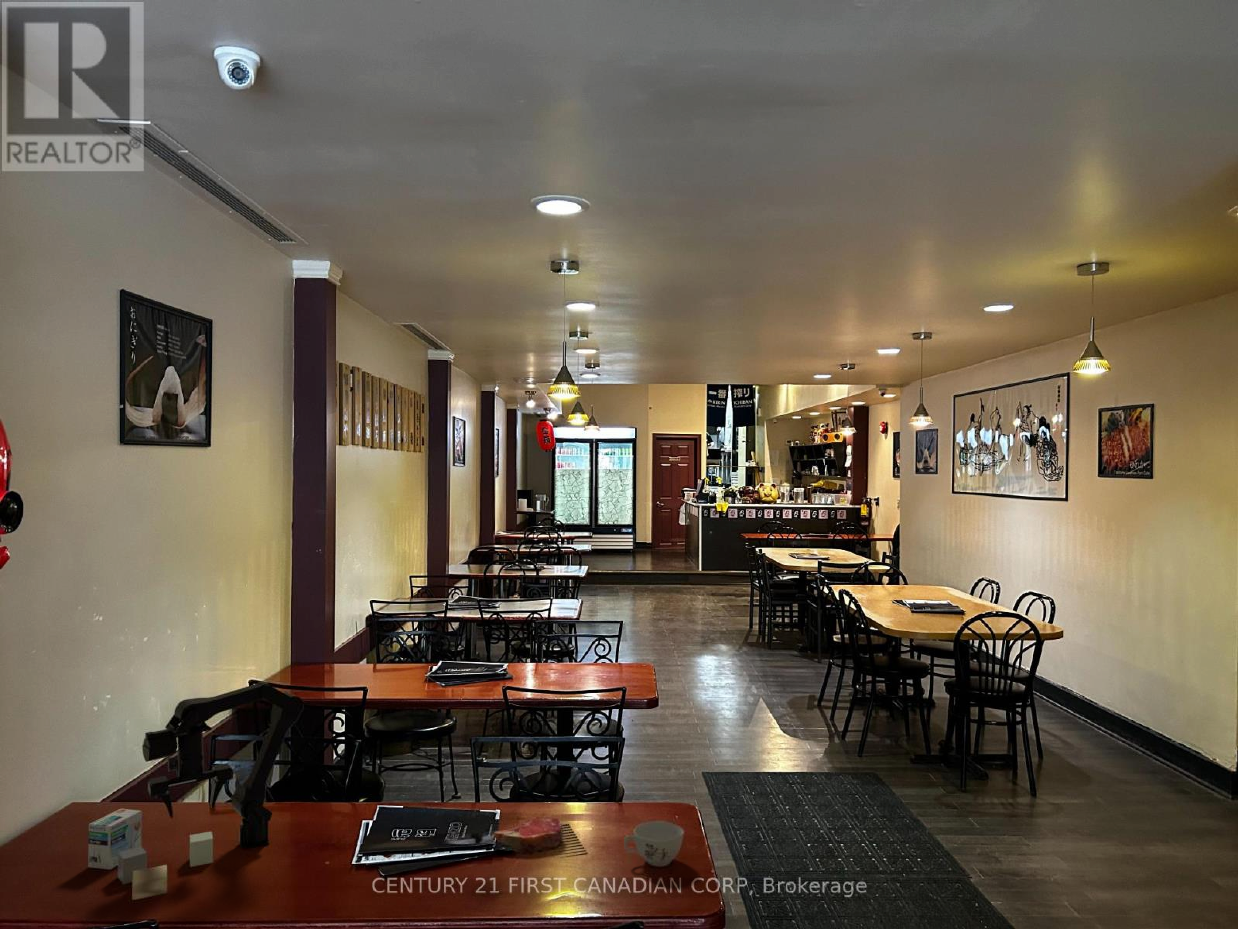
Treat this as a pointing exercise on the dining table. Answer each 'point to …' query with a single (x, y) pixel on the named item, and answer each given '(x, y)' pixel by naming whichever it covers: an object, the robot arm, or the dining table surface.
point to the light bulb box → (113, 837)
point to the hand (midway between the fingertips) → (191, 813)
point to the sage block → (201, 849)
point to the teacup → (656, 842)
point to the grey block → (131, 863)
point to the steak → (538, 836)
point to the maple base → (149, 882)
